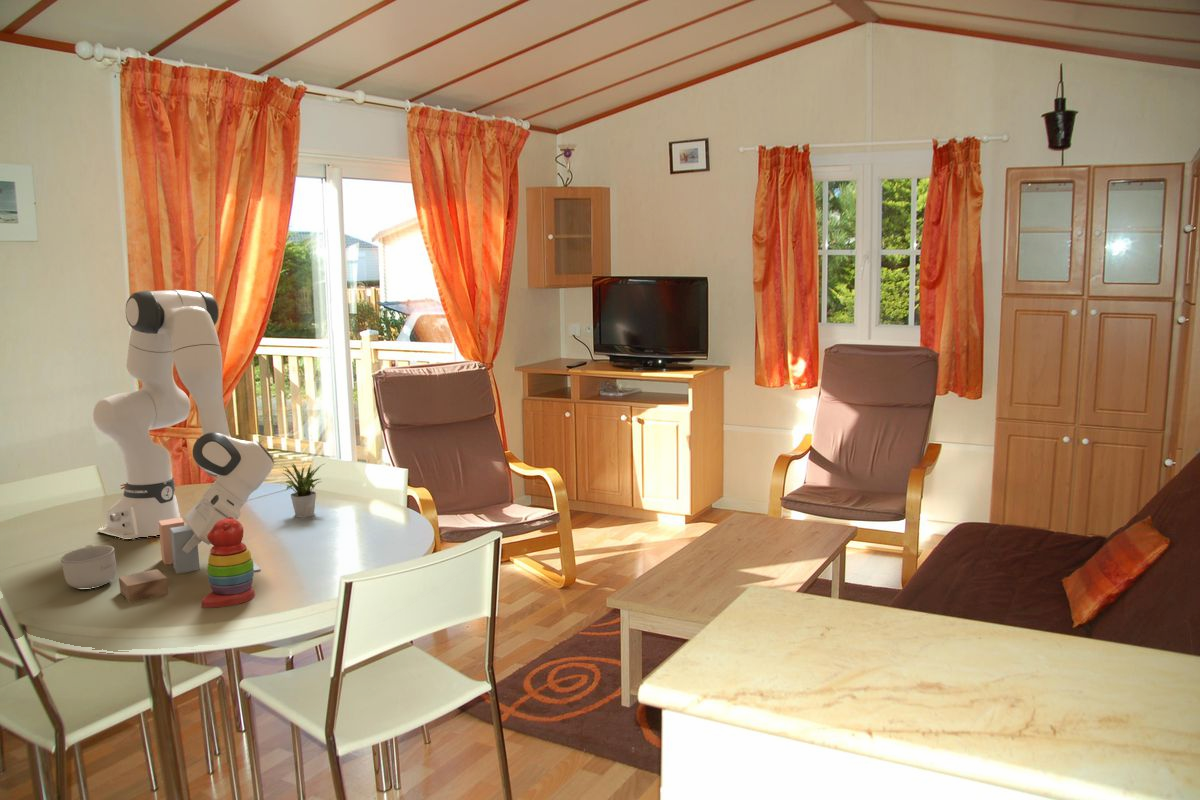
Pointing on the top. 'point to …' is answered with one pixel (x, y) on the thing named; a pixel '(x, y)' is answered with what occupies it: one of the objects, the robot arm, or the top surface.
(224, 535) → the stacking bear
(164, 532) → the terracotta pillar
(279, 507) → the top surface
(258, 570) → the slate swatch
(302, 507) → the house plant
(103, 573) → the teacup
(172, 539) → the slate pillar
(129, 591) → the walnut block
